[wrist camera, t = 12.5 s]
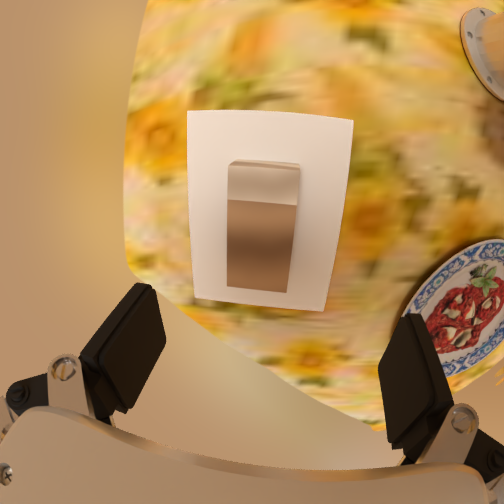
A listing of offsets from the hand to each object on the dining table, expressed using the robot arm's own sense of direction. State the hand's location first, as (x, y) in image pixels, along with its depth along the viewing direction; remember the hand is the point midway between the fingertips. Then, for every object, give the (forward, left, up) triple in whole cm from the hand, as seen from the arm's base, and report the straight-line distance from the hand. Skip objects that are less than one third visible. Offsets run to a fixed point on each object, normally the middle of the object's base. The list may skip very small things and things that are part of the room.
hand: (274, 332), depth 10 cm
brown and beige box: (+2, +3, -19) cm, 20 cm away
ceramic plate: (-29, +14, -20) cm, 38 cm away
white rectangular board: (+2, +3, -20) cm, 20 cm away
